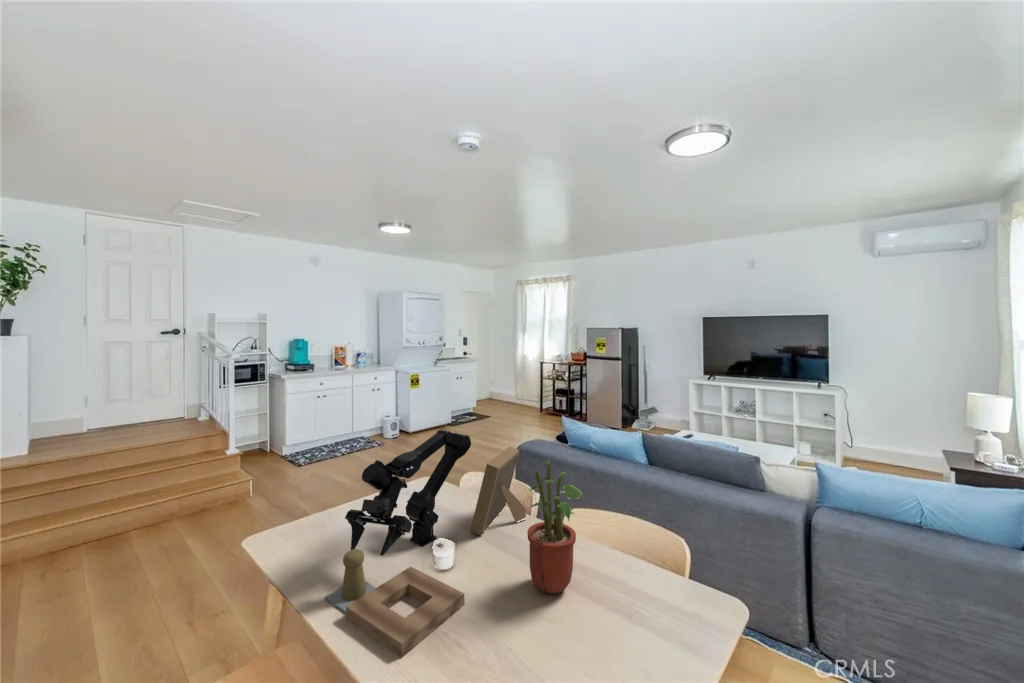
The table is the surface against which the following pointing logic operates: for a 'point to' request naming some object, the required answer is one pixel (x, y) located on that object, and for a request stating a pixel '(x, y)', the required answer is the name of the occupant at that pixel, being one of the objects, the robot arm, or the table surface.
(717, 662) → the table surface
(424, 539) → the robot arm
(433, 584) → the walnut holder block
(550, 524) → the potted plant
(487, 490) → the photo frame
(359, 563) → the olive green pawn
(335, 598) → the grey mat
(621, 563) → the table surface
